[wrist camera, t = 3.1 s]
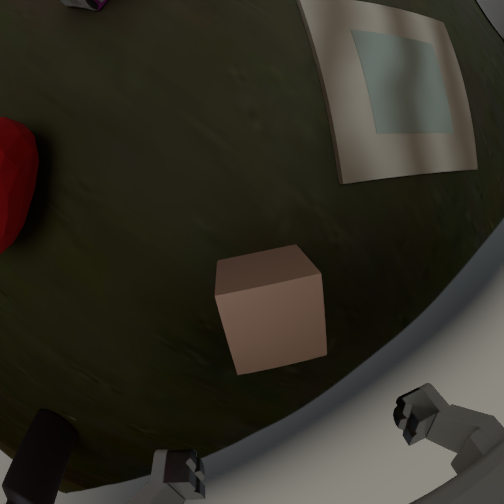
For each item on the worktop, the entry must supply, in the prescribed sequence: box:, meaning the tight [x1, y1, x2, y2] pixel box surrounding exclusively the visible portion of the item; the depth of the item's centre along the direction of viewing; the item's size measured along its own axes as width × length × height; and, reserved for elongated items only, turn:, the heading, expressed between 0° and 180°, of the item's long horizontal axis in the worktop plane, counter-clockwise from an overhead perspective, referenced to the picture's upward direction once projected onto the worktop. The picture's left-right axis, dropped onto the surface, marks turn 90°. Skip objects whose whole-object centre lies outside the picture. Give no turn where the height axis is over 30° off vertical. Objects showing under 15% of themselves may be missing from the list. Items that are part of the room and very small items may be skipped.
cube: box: [215, 244, 327, 375], centre depth 19 cm, size 6×6×6 cm
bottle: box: [2, 410, 77, 504], centre depth 16 cm, size 7×7×20 cm
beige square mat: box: [296, 0, 477, 184], centre depth 17 cm, size 16×16×1 cm
